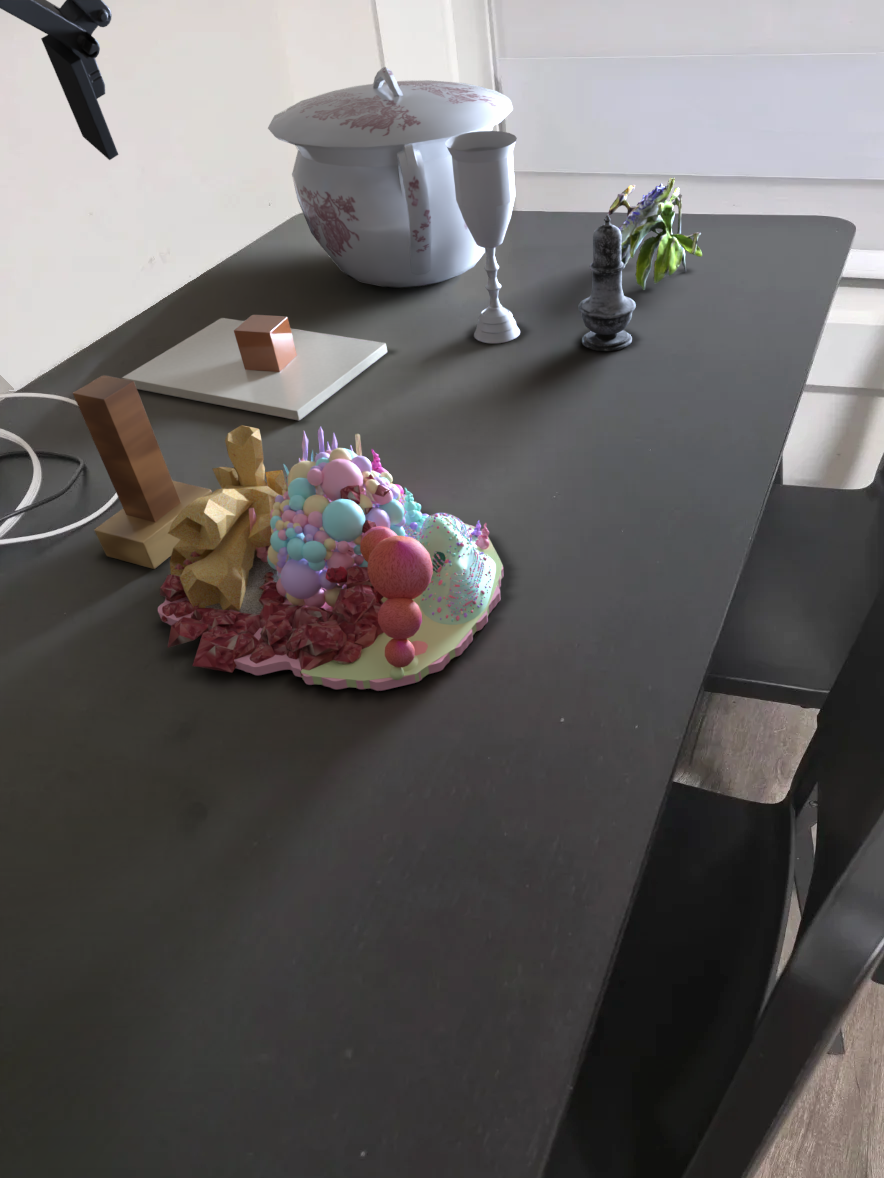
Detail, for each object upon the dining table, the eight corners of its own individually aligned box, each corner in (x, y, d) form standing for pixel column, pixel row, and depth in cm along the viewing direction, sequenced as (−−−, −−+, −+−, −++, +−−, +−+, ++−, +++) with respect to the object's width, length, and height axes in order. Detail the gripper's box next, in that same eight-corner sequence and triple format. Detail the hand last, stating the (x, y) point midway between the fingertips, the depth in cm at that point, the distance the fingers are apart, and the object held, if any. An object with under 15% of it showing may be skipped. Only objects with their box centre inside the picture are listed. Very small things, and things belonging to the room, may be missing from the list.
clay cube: (244, 369, 91) (233, 330, 89) (262, 353, 94) (252, 314, 91) (280, 372, 91) (269, 332, 88) (297, 355, 93) (287, 316, 90)
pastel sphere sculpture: (111, 679, 60) (51, 566, 54) (239, 491, 77) (204, 387, 70) (473, 701, 57) (456, 585, 51) (527, 500, 73) (520, 392, 67)
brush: (106, 556, 71) (34, 406, 62) (174, 504, 76) (117, 358, 67) (154, 569, 69) (87, 418, 60) (220, 515, 74) (168, 368, 65)
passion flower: (622, 313, 113) (613, 211, 111) (709, 297, 110) (702, 192, 108) (605, 289, 102) (595, 175, 100) (702, 270, 99) (693, 152, 97)
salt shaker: (573, 350, 93) (570, 224, 84) (585, 327, 97) (583, 204, 88) (629, 353, 92) (632, 225, 83) (639, 330, 96) (642, 205, 87)
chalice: (465, 322, 100) (445, 133, 87) (526, 317, 100) (515, 128, 87) (466, 350, 94) (444, 153, 82) (530, 344, 95) (518, 148, 82)
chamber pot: (381, 223, 125) (352, 40, 110) (559, 243, 116) (552, 46, 101) (254, 297, 108) (199, 91, 93) (451, 327, 99) (424, 104, 84)
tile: (125, 386, 92) (121, 377, 92) (224, 326, 102) (221, 317, 102) (299, 420, 85) (296, 411, 84) (387, 352, 95) (386, 342, 94)
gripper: (-451, -43, 34) (-117, 342, 54) (85, -285, 41) (204, 136, 61) (-564, -151, 35) (-194, 266, 55) (-21, -371, 42) (131, 72, 62)
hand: (15, 198), depth 58 cm, fingers open, 13 cm apart
